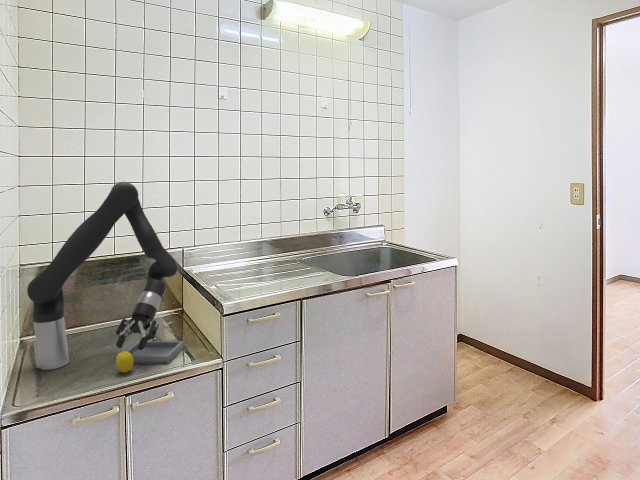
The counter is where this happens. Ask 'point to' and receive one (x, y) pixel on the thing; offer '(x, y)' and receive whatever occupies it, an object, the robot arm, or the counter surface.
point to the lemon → (124, 361)
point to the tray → (156, 352)
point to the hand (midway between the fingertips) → (129, 348)
